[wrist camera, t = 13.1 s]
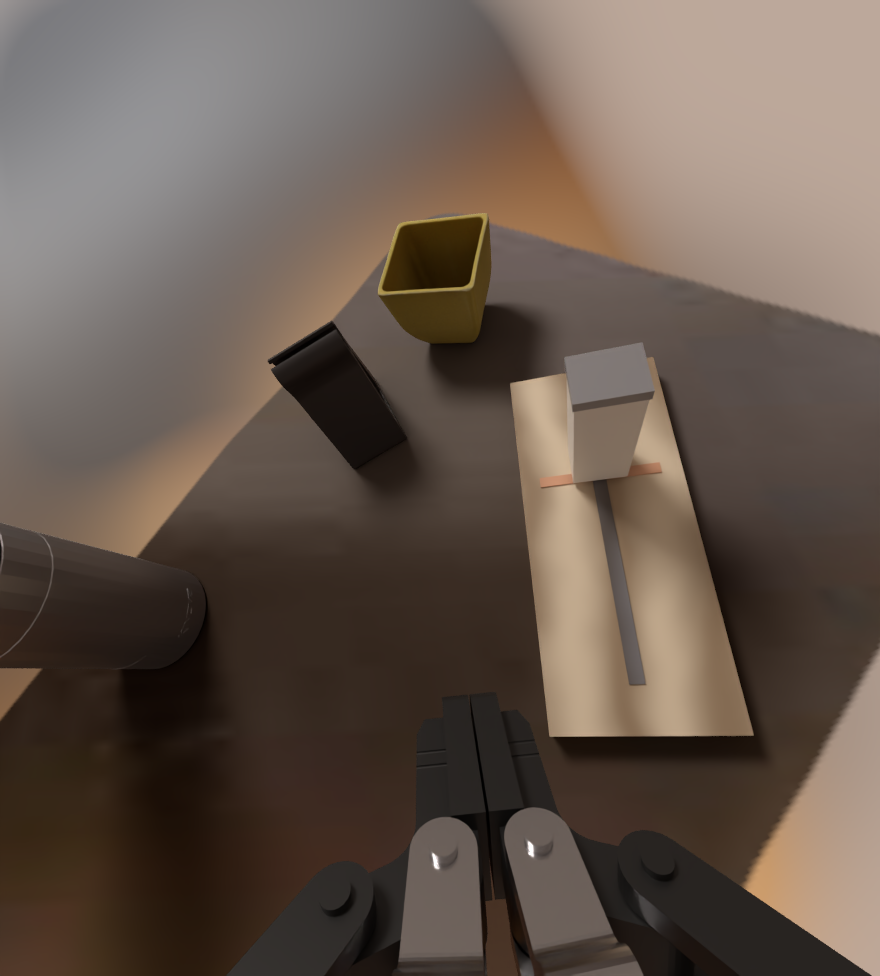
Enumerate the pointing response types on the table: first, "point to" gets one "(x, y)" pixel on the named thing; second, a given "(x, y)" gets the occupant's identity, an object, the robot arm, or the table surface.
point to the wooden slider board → (621, 584)
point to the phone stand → (338, 394)
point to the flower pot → (439, 277)
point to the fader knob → (606, 410)
